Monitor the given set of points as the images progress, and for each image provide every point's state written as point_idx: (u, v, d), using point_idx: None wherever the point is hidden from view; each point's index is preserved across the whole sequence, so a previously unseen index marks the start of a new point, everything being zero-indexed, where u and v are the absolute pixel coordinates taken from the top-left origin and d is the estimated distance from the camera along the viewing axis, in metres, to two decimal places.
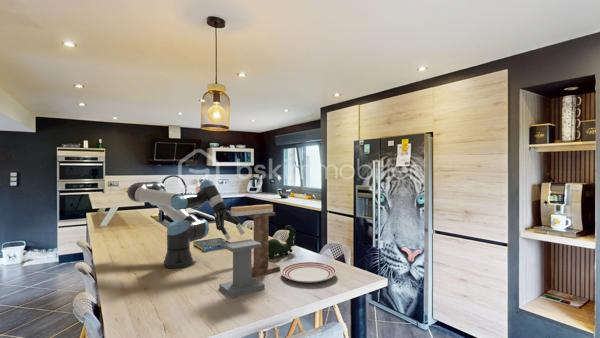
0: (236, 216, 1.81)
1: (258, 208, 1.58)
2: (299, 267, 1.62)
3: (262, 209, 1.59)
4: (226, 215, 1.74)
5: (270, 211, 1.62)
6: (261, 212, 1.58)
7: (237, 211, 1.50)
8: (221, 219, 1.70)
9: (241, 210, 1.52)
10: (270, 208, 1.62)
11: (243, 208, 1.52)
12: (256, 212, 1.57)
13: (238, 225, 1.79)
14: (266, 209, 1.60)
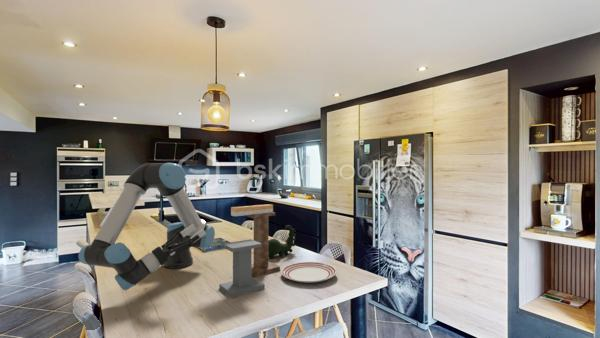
0: (184, 249, 1.29)
1: (258, 208, 1.58)
2: (299, 267, 1.62)
3: (262, 209, 1.59)
4: None
5: (270, 211, 1.62)
6: (261, 212, 1.58)
7: (237, 211, 1.50)
8: None
9: (241, 210, 1.52)
10: (270, 208, 1.62)
11: (243, 208, 1.52)
12: (256, 212, 1.57)
13: None
14: (266, 209, 1.60)
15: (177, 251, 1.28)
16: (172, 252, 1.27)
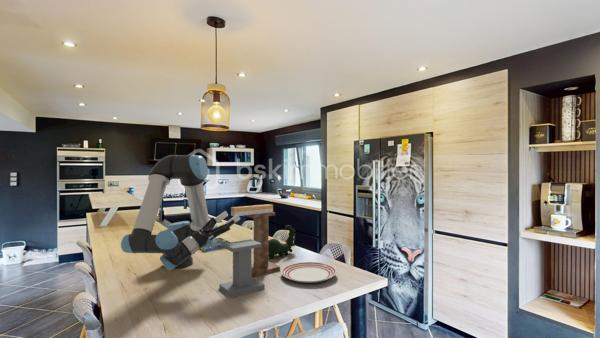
0: (222, 233, 1.38)
1: (258, 208, 1.58)
2: (299, 267, 1.62)
3: (262, 209, 1.59)
4: None
5: (270, 211, 1.62)
6: (261, 212, 1.58)
7: (237, 211, 1.50)
8: None
9: (241, 210, 1.52)
10: (270, 208, 1.62)
11: (243, 208, 1.52)
12: (256, 212, 1.57)
13: None
14: (266, 209, 1.60)
15: (215, 234, 1.37)
16: (211, 235, 1.36)
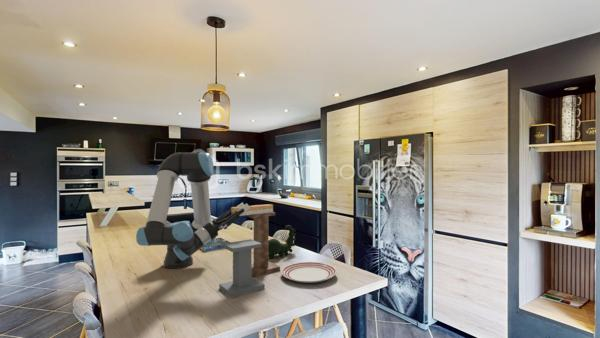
0: (233, 221, 1.45)
1: (258, 208, 1.58)
2: (299, 267, 1.62)
3: (262, 209, 1.59)
4: None
5: (270, 211, 1.62)
6: (261, 212, 1.58)
7: None
8: None
9: None
10: (270, 208, 1.62)
11: None
12: (256, 212, 1.57)
13: None
14: (266, 209, 1.60)
15: (228, 223, 1.43)
16: (225, 224, 1.42)
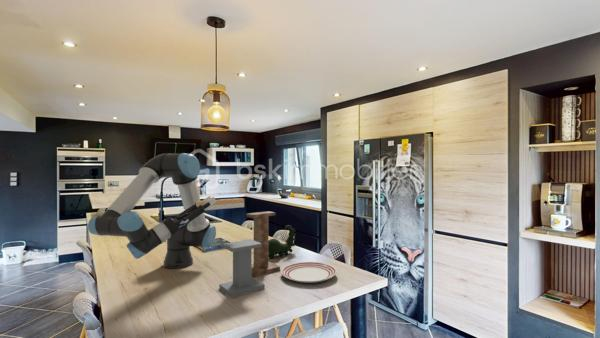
0: (197, 216, 1.32)
1: (227, 202, 1.44)
2: (299, 267, 1.62)
3: (231, 203, 1.46)
4: None
5: (241, 205, 1.49)
6: (230, 206, 1.45)
7: None
8: None
9: None
10: (241, 202, 1.49)
11: None
12: (224, 206, 1.44)
13: None
14: (236, 203, 1.47)
15: (191, 218, 1.30)
16: (186, 219, 1.29)
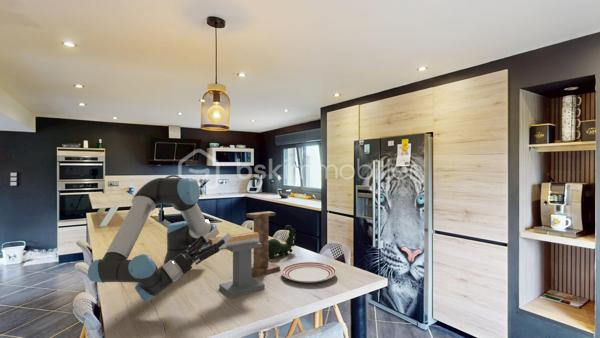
0: (209, 256, 1.19)
1: (241, 238, 1.34)
2: (299, 267, 1.62)
3: (246, 239, 1.35)
4: None
5: (256, 241, 1.38)
6: (245, 243, 1.35)
7: None
8: None
9: None
10: (256, 237, 1.38)
11: None
12: (239, 243, 1.33)
13: None
14: (251, 239, 1.37)
15: (202, 258, 1.18)
16: (197, 259, 1.17)
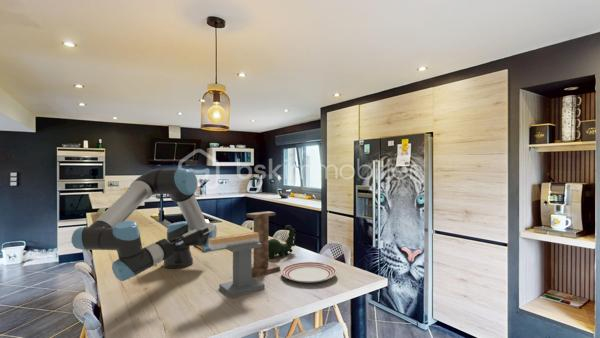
0: (193, 240, 1.19)
1: (241, 238, 1.34)
2: (299, 267, 1.62)
3: (246, 239, 1.35)
4: None
5: (256, 241, 1.38)
6: (245, 243, 1.35)
7: (215, 243, 1.27)
8: None
9: (220, 242, 1.28)
10: (256, 237, 1.38)
11: (223, 239, 1.29)
12: (239, 243, 1.33)
13: None
14: (251, 239, 1.37)
15: (186, 240, 1.17)
16: (181, 241, 1.16)
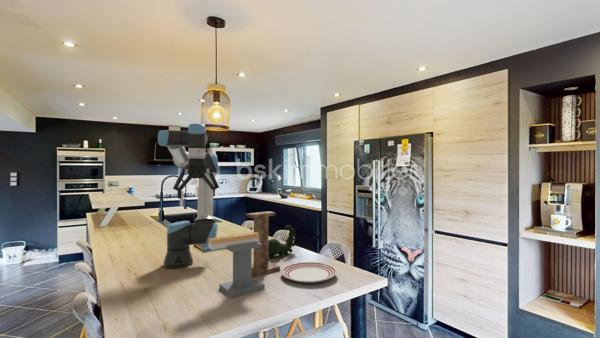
0: (215, 180, 1.44)
1: (241, 238, 1.34)
2: (299, 267, 1.62)
3: (246, 239, 1.35)
4: (198, 175, 1.39)
5: (256, 241, 1.38)
6: (245, 243, 1.35)
7: (215, 243, 1.27)
8: (186, 179, 1.37)
9: (220, 242, 1.28)
10: (256, 237, 1.38)
11: (223, 239, 1.29)
12: (239, 243, 1.33)
13: (210, 191, 1.44)
14: (251, 239, 1.37)
15: None
16: None
